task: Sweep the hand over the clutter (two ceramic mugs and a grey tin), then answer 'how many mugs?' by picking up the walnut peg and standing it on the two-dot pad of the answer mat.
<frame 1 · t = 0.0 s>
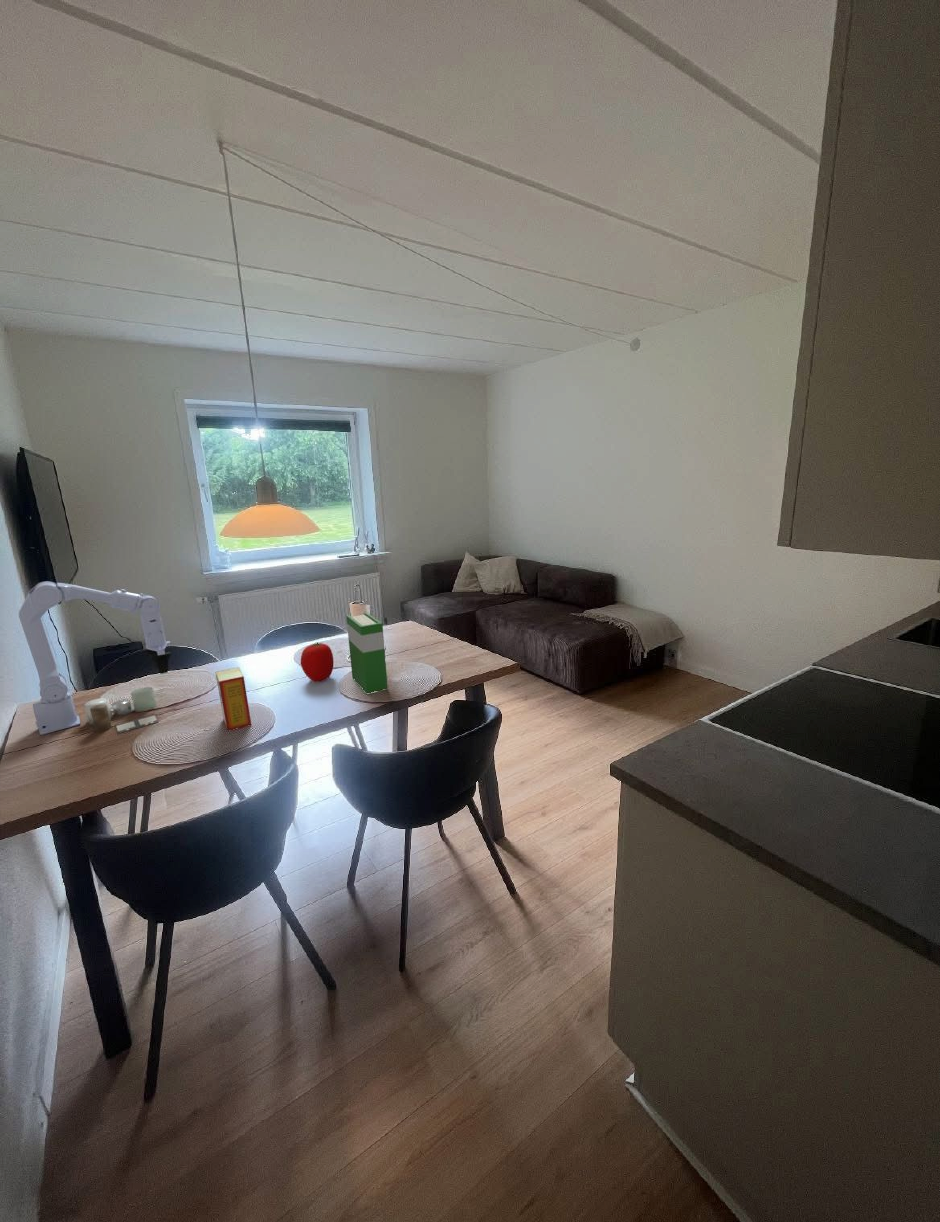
hand: (161, 670, 165), 10 cm above the table, fingers open, 7 cm apart
walnut peg: (103, 728, 147), on the table
mug sage: (145, 707, 160), on the table
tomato: (319, 679, 179), on the table
answer mat: (137, 723, 149), on the table
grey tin: (123, 712, 157), on the table
mug white: (100, 719, 153), on the table
baking soda box: (237, 722, 148), on the table
hardback book: (369, 684, 174), on the table
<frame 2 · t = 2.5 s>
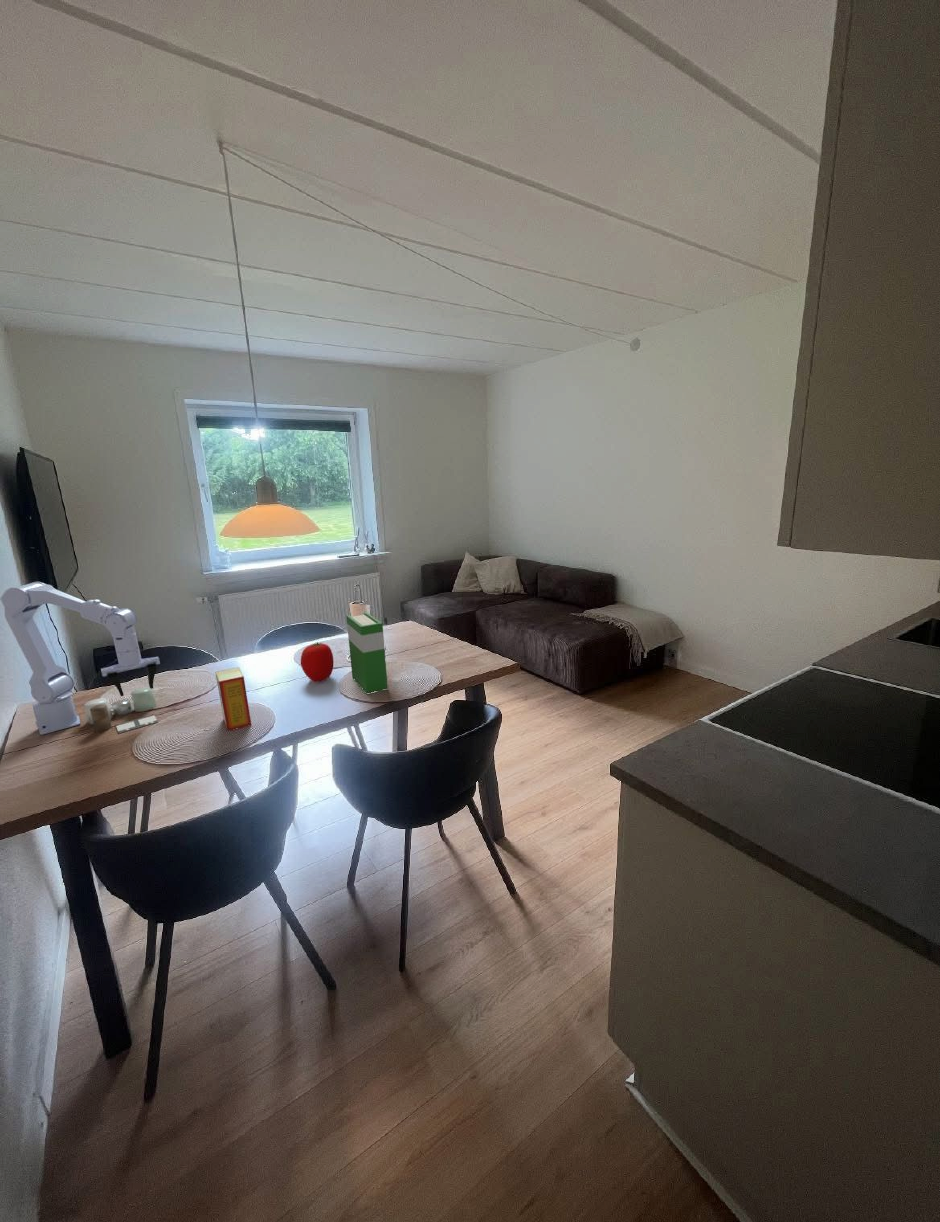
hand: (136, 691, 150), 9 cm above the table, fingers open, 7 cm apart
nothing on the table moved.
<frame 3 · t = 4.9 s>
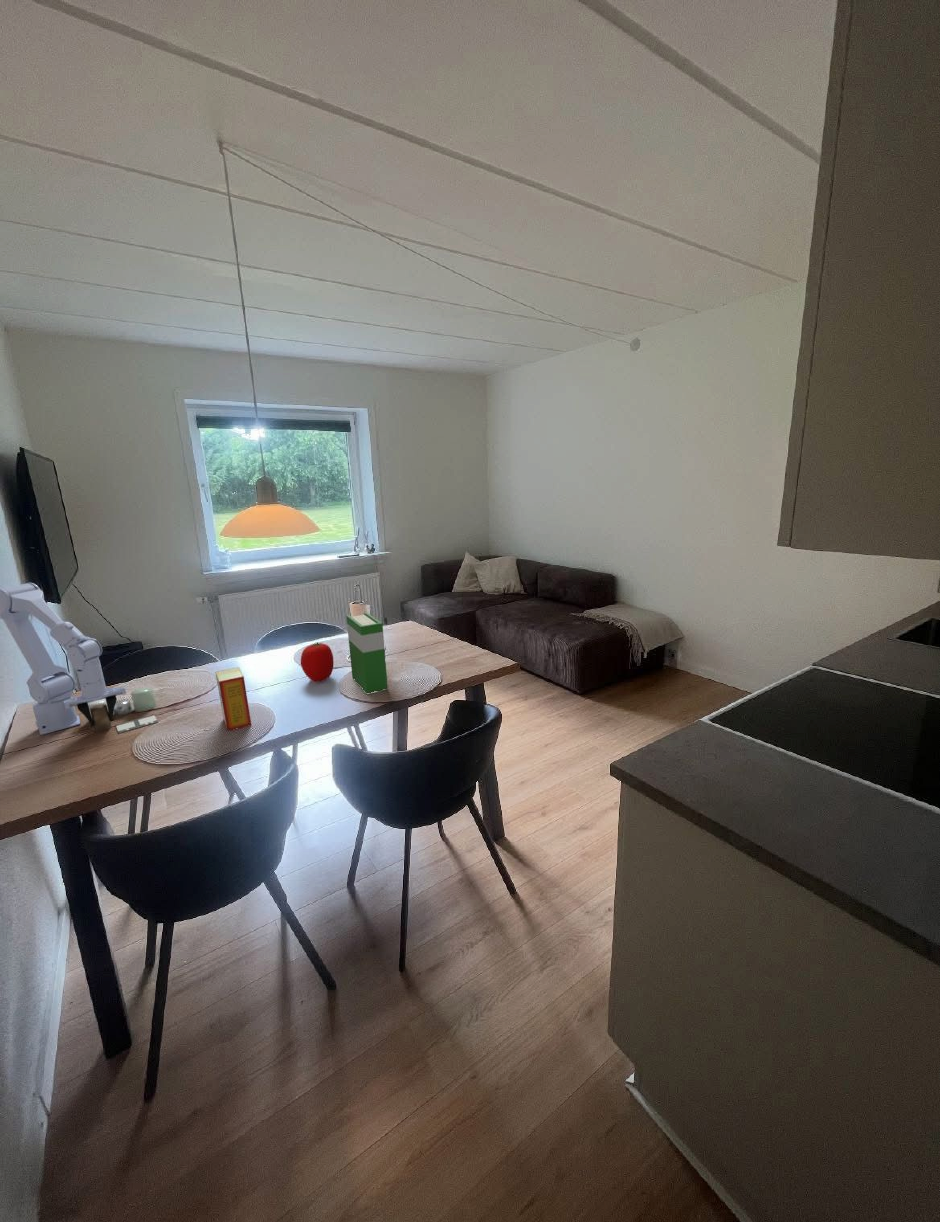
hand: (102, 722, 146), 2 cm above the table, fingers closed on walnut peg, 4 cm apart
walnut peg: (103, 728, 147), on the table, touching gripper
everything else where it was.
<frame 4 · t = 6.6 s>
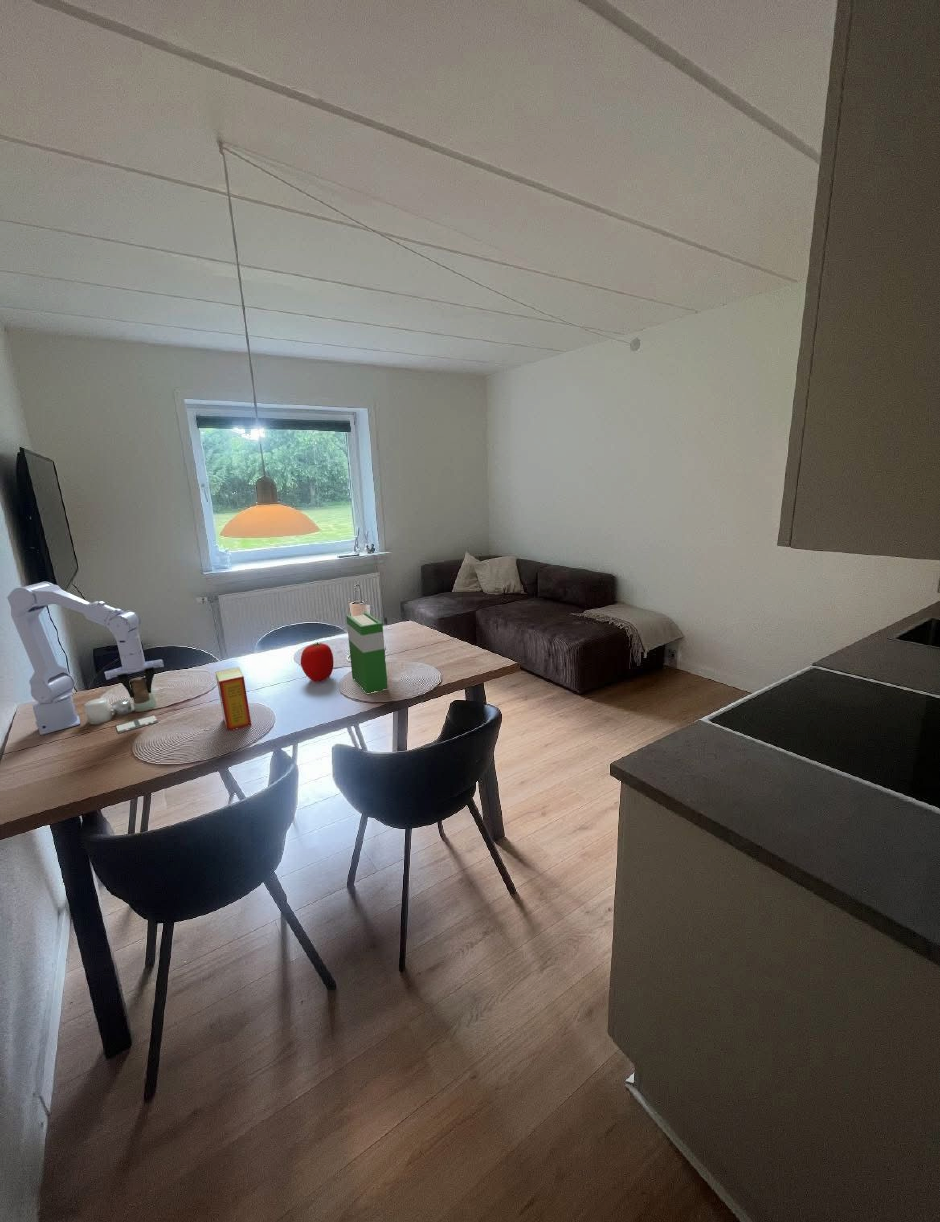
hand: (140, 694, 148), 9 cm above the table, fingers closed on walnut peg, 4 cm apart
walnut peg: (142, 700, 149), point 7 cm above the table, touching gripper
everything else where it was.
when the fingers open (3 cm above the table, at t = 8.3 s): walnut peg stays where it is, resting on answer mat.
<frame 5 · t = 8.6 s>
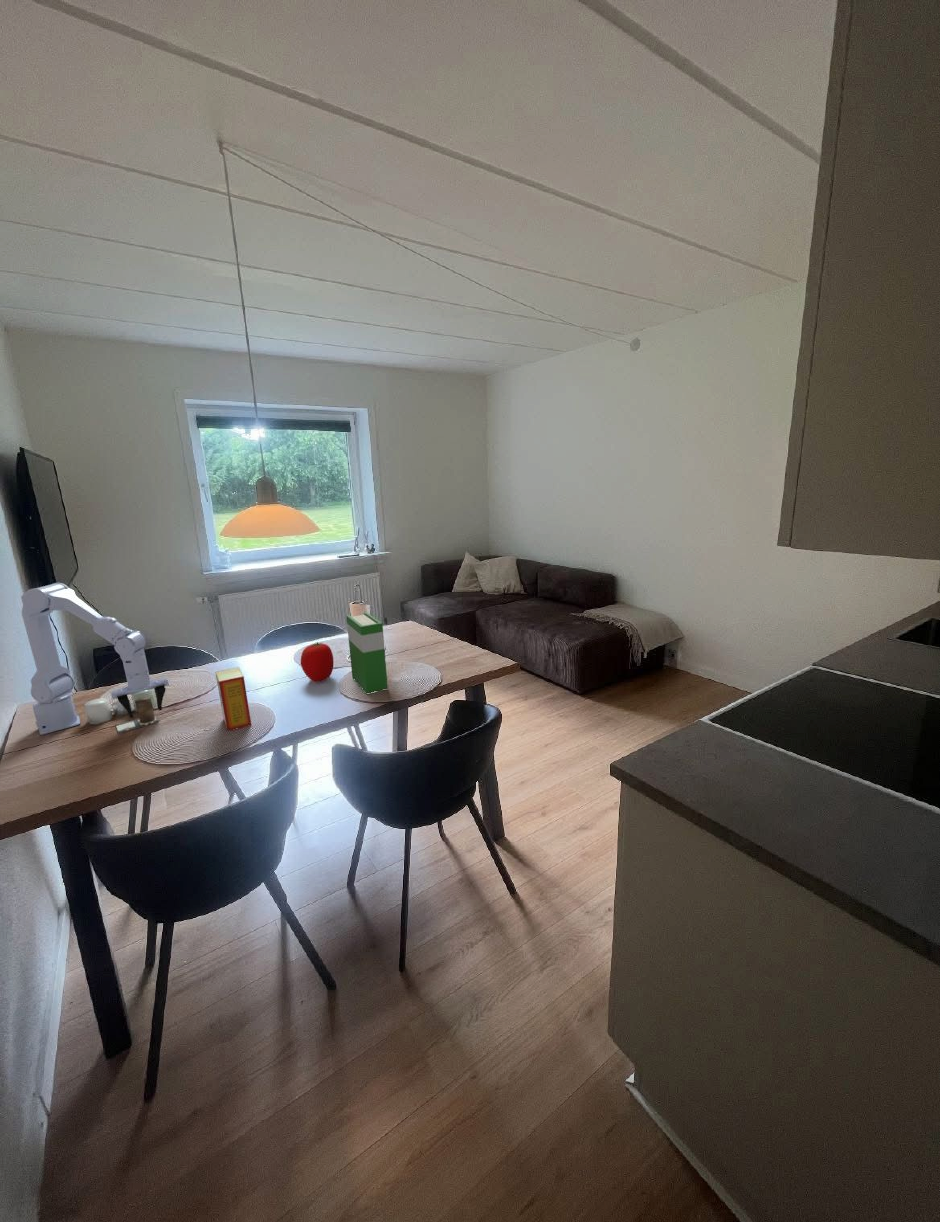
hand: (146, 713, 150), 3 cm above the table, fingers open, 7 cm apart
walnut peg: (147, 720, 151), resting on answer mat
everything else where it was.
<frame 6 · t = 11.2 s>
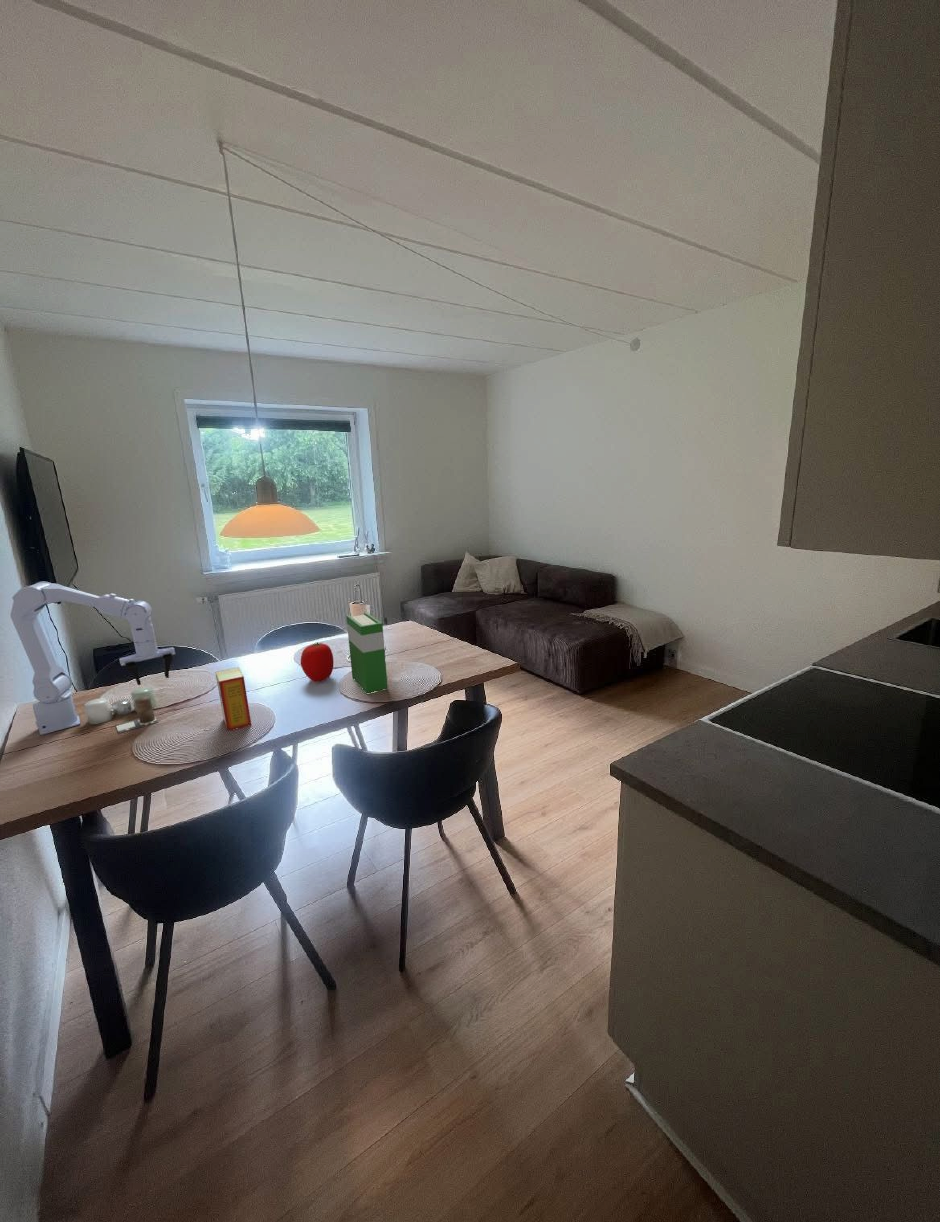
hand: (153, 680, 155), 10 cm above the table, fingers open, 7 cm apart
nothing on the table moved.
at the end: walnut peg 0.0 cm from the target spot on the answer mat, point 0.3 cm above the answer mat's base; walnut peg tilted 1°; the gripper is holding nothing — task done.
